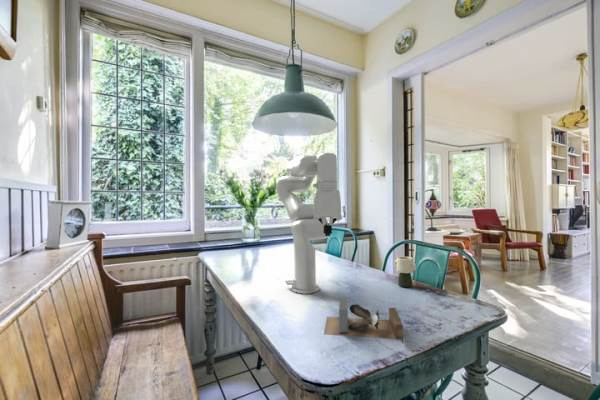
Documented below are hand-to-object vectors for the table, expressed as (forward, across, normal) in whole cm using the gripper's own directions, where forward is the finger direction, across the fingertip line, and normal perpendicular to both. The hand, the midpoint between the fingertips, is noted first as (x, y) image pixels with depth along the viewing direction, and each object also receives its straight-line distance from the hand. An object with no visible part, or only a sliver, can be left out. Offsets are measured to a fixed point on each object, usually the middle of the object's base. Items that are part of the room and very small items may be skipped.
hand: (327, 235), depth 103 cm
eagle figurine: (+26, +12, -18) cm, 33 cm away
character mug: (+27, +33, +30) cm, 52 cm away
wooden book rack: (+27, +11, -17) cm, 34 cm away
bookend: (+26, +6, -17) cm, 31 cm away
